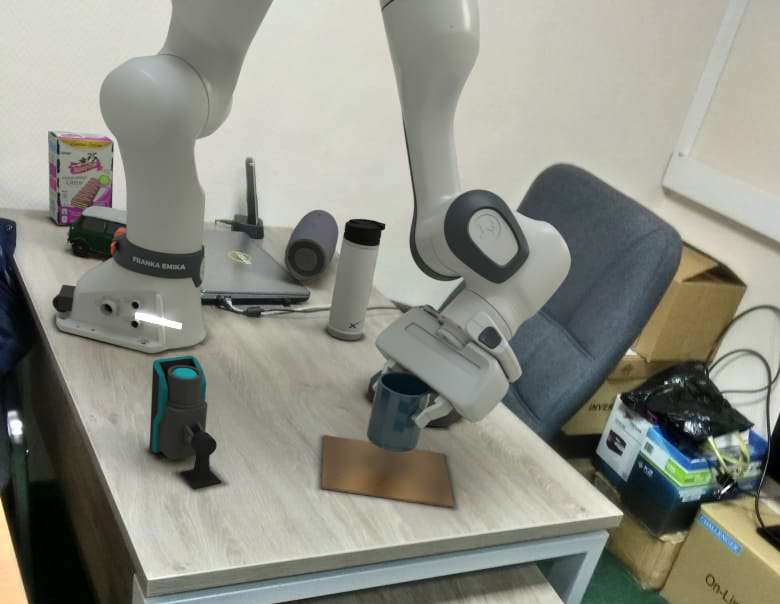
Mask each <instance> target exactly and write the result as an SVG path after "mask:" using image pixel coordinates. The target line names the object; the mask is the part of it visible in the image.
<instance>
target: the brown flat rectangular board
mask: <svg viewBox="0 0 780 604" xmlns="http://www.w3.org/2000/svg"><path fill="white" fill-rule="evenodd" d="M322 451H323V452H322V455H323V456H322V475H321V489H323V490H329V491H336V492H343V493H349V494H355V495H356V494H357V495H362V496H363V495H364V496H371V497H378V498H382V499H389V500H397V501H403V502H411V503H416V504H424V505H431V506H438V507H445V508H452V509H453V508H454V501H453V496H452V491H451V485H450V481H449V476H448V471H447V466H446V461H445V456H444V453H438V452H433V451H427V450H421V449H416V448H414V449H413V450H410V451H406V452H395V451H389V450H386V449H383V448H380V447H378V446H376V445H375V444H373V443H372V442H371V441H364V440H357V439H350V438H345V437H338V436H332V435H325V434H324V435H323V449H322Z"/></svg>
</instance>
